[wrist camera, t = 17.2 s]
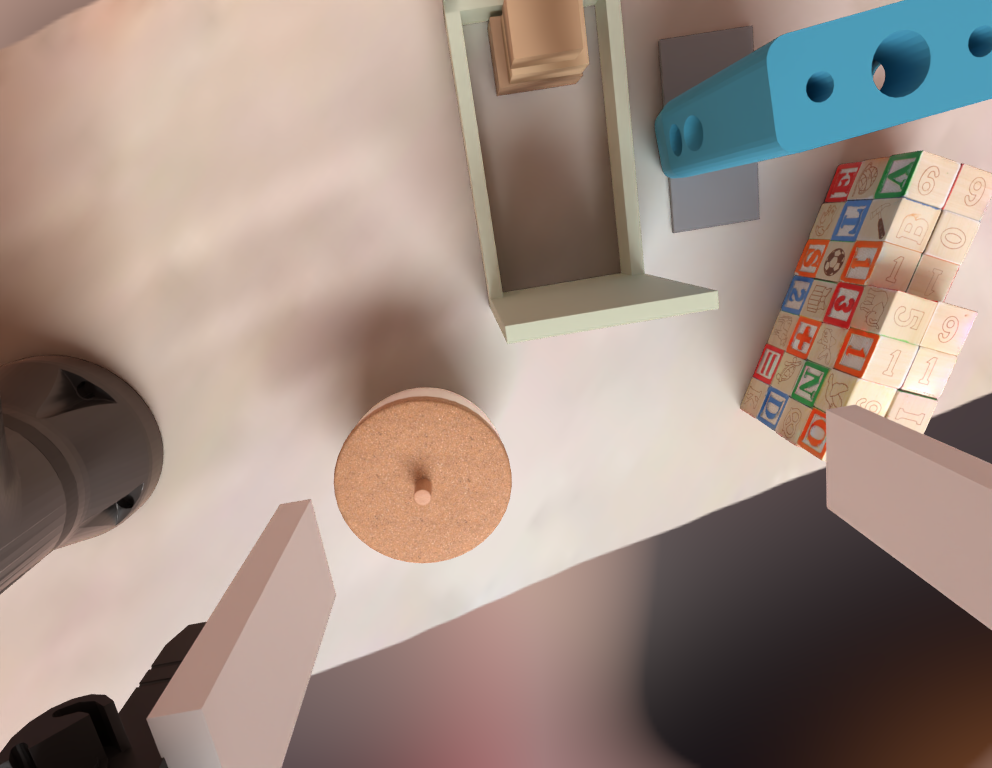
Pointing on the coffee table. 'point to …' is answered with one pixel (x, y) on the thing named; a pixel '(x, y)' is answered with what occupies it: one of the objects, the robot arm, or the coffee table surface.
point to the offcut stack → (538, 45)
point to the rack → (632, 288)
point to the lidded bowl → (423, 476)
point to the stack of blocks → (873, 299)
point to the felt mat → (717, 191)
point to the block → (831, 85)
